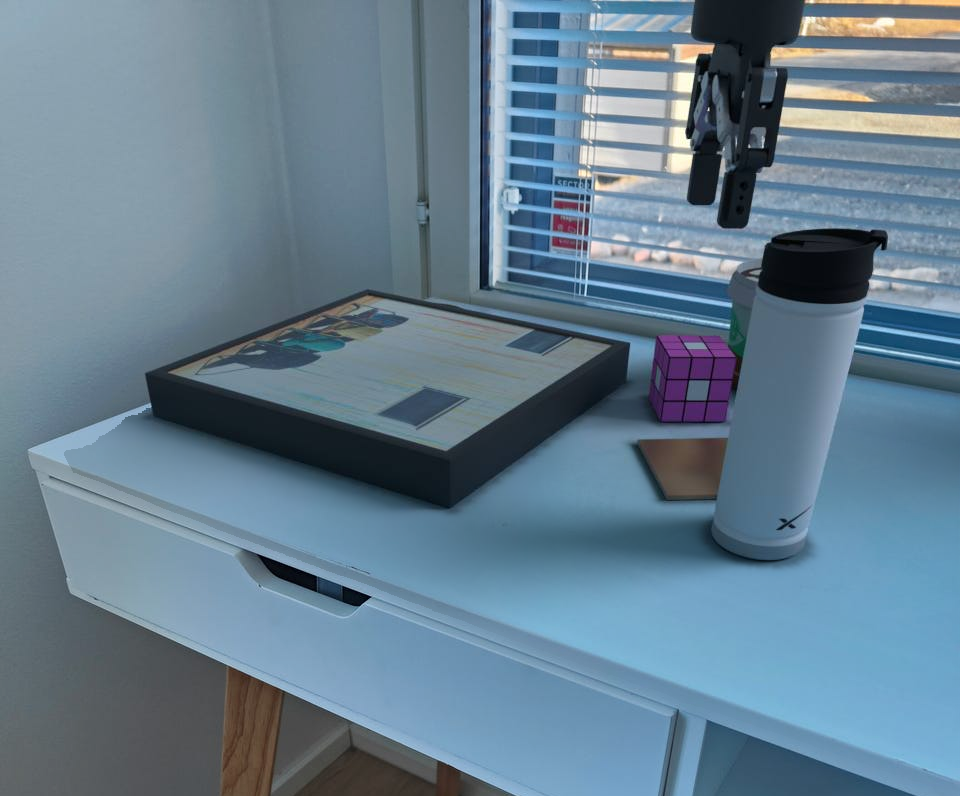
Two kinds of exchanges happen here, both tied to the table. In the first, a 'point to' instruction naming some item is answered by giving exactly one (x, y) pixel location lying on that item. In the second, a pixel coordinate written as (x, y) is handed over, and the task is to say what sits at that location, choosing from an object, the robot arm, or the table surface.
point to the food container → (742, 309)
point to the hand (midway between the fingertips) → (714, 215)
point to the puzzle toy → (691, 378)
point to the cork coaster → (686, 466)
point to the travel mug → (791, 386)
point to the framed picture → (394, 390)
